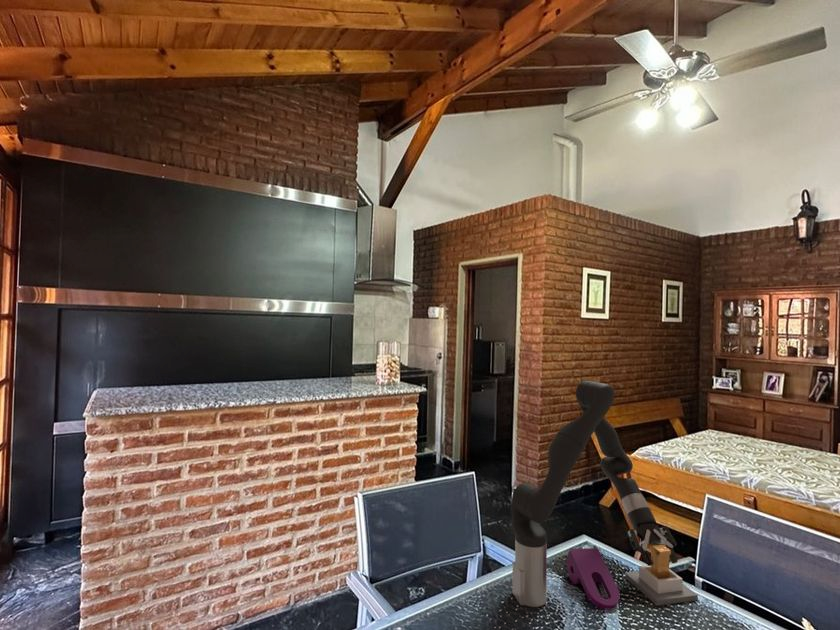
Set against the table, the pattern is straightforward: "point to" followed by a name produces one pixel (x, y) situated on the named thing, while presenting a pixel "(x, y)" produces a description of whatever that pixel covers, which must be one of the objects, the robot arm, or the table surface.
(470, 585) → the table surface
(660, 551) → the locking wedge
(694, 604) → the table surface
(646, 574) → the socket plate
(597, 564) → the mounting bracket
